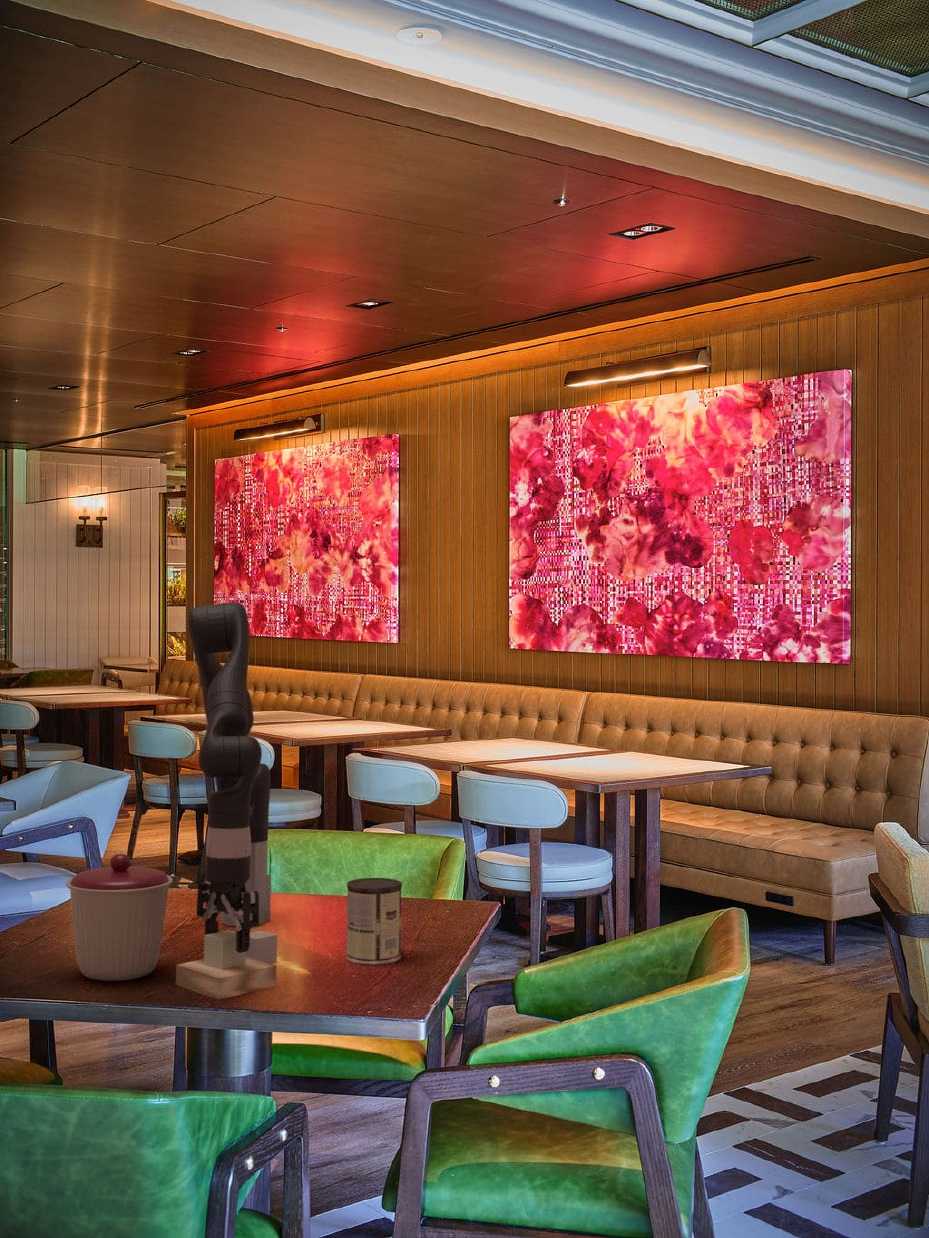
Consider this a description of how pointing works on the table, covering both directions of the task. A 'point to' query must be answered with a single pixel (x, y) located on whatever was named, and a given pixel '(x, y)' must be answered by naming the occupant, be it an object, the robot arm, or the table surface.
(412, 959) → the table surface
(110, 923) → the canister
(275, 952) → the grey block
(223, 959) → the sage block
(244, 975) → the birch block
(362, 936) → the coffee can
